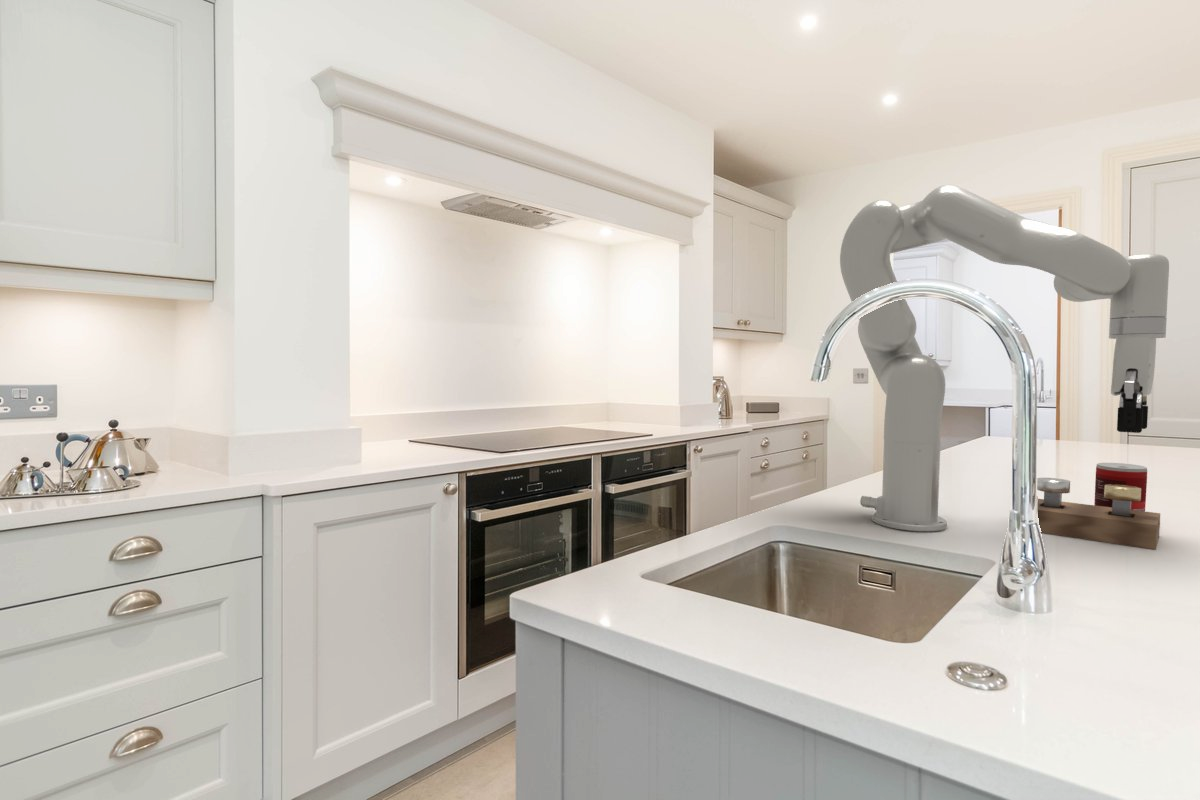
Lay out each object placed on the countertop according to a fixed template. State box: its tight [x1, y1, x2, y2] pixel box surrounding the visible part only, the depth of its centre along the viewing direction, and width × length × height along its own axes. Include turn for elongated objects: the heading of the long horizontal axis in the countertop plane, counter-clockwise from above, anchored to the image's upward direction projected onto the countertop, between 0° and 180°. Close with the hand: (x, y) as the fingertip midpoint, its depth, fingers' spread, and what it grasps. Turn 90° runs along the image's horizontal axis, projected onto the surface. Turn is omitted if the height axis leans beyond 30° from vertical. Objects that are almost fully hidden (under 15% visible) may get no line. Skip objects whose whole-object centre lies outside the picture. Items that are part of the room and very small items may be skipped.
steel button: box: [1036, 477, 1071, 509], centre depth 122 cm, size 5×5×6 cm
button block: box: [1037, 498, 1161, 550], centre depth 119 cm, size 20×12×4 cm, turn 48°
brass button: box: [1104, 484, 1141, 517], centre depth 116 cm, size 5×5×6 cm
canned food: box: [1093, 462, 1148, 512], centre depth 126 cm, size 8×8×11 cm
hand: (1132, 430), depth 114 cm, fingers open, 9 cm apart
